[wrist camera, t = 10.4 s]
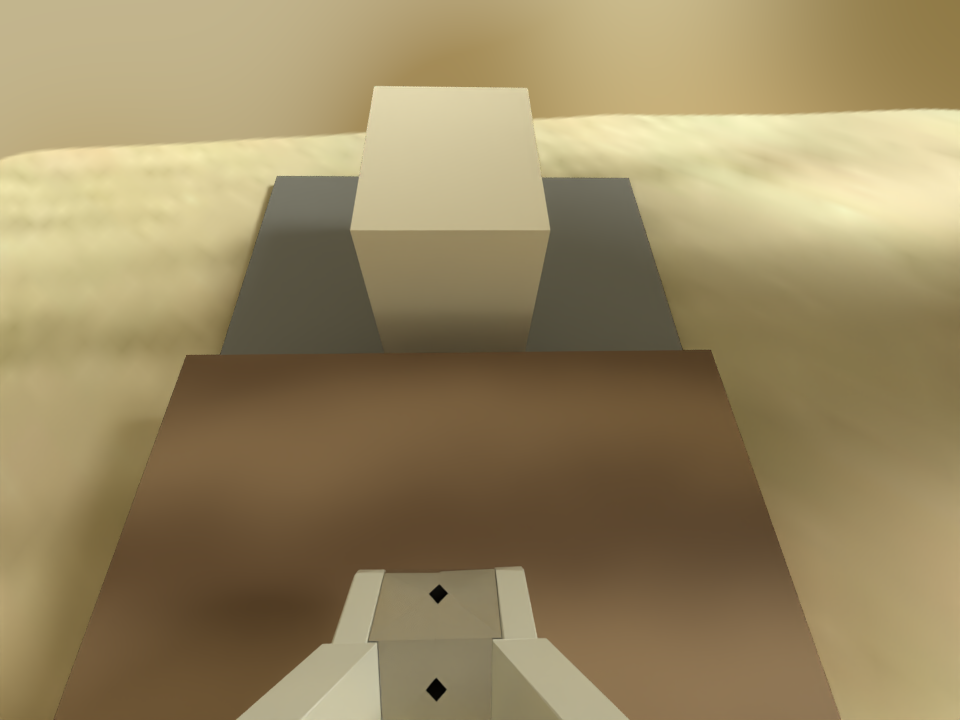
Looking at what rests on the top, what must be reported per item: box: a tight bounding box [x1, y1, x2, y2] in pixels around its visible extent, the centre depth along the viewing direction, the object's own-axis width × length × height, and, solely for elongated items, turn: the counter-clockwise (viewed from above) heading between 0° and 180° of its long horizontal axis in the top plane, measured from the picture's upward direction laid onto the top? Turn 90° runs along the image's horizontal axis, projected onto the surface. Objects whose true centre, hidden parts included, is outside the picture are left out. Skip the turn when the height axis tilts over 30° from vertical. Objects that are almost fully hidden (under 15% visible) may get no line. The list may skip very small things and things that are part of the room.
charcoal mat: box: [220, 176, 682, 355], centre depth 22 cm, size 14×20×1 cm
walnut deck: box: [54, 350, 841, 720], centre depth 14 cm, size 12×18×4 cm, turn 92°
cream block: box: [350, 86, 550, 353], centre depth 19 cm, size 7×6×8 cm
